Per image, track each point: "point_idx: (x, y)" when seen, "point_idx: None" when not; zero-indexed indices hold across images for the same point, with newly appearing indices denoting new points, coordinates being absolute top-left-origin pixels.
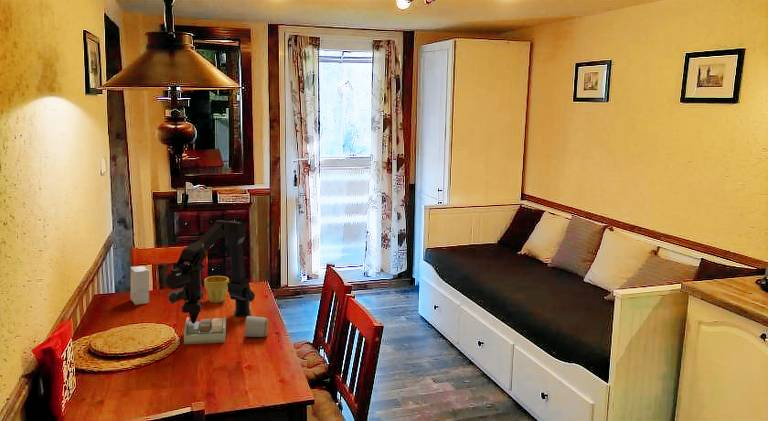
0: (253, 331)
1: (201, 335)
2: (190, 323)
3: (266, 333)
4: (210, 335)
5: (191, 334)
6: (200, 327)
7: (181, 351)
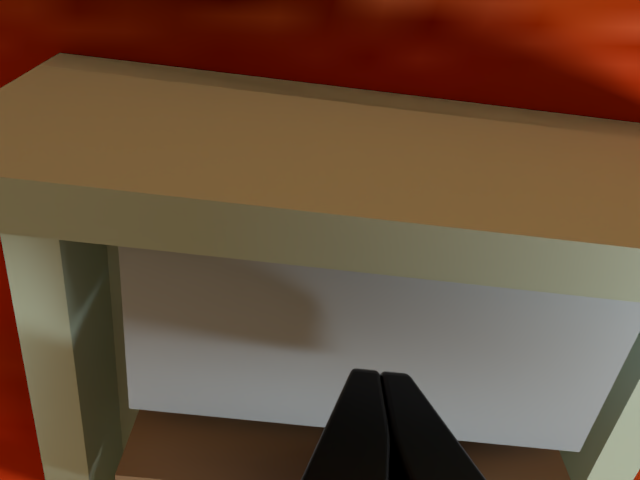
0: None
1: (30, 385)
2: (525, 301)
3: None
4: (54, 477)
5: (56, 251)
6: (124, 466)
7: None
